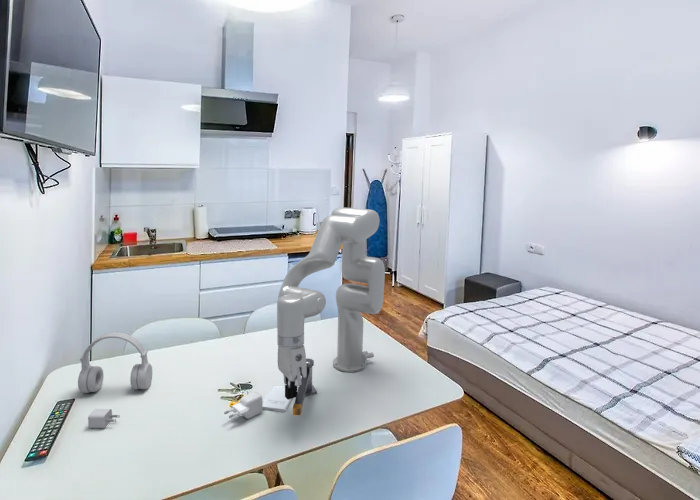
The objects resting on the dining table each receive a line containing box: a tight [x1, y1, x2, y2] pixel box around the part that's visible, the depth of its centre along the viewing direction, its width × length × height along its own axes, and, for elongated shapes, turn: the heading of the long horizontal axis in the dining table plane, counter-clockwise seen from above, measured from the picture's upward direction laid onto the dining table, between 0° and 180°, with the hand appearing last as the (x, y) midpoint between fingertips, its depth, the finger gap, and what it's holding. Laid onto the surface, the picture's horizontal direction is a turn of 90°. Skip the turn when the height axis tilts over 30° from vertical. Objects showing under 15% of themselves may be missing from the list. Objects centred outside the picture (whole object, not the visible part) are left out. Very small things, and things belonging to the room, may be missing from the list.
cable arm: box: [292, 358, 315, 417], centre depth 122 cm, size 26×4×4 cm, turn 179°
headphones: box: [77, 331, 153, 394], centre depth 131 cm, size 20×8×19 cm, turn 100°
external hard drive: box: [262, 385, 294, 413], centre depth 130 cm, size 2×8×12 cm
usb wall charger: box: [87, 408, 121, 429], centre depth 114 cm, size 4×7×4 cm, turn 93°
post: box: [297, 366, 318, 397], centre depth 134 cm, size 5×5×9 cm
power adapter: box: [223, 391, 264, 420], centre depth 119 cm, size 11×5×6 cm, turn 137°
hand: (291, 397), depth 119 cm, fingers closed
